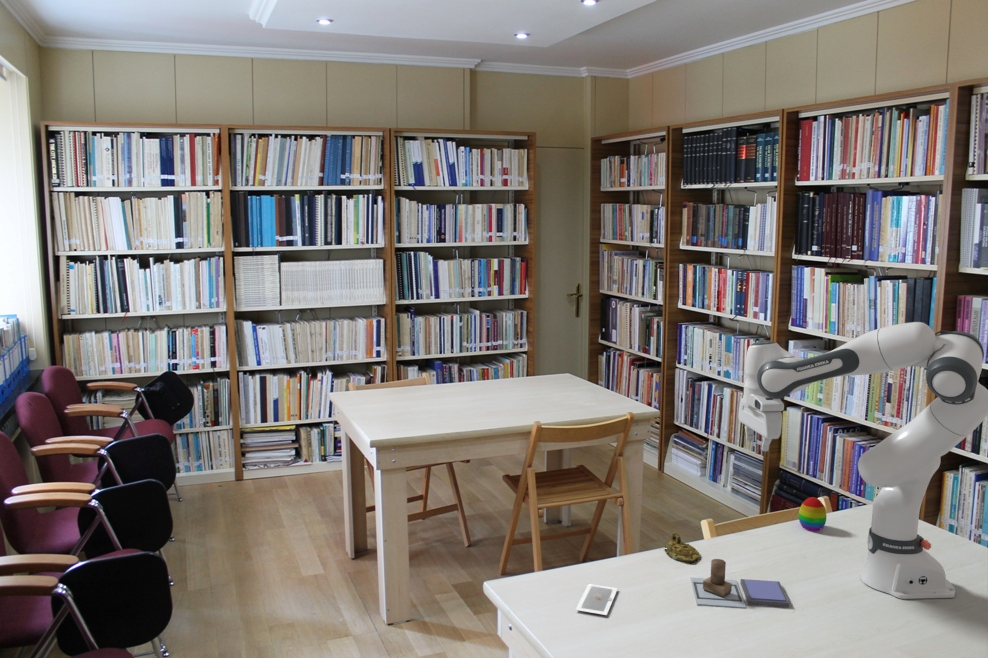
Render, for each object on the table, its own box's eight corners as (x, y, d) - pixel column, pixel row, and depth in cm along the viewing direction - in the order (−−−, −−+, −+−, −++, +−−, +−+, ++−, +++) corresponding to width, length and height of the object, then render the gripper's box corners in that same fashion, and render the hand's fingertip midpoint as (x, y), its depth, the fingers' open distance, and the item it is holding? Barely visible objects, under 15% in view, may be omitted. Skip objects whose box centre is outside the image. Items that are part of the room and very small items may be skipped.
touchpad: (575, 613, 200) (575, 605, 199) (588, 587, 214) (588, 579, 213) (606, 619, 197) (606, 611, 197) (617, 592, 211) (617, 584, 211)
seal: (707, 567, 228) (685, 545, 243) (709, 551, 228) (687, 530, 242) (676, 566, 226) (656, 544, 241) (679, 550, 226) (658, 529, 240)
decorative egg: (823, 534, 249) (825, 504, 247) (795, 529, 253) (797, 499, 251) (827, 526, 256) (829, 496, 254) (800, 521, 260) (802, 491, 258)
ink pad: (779, 585, 214) (779, 580, 214) (789, 607, 203) (789, 601, 202) (740, 583, 216) (740, 578, 215) (748, 604, 204) (748, 599, 204)
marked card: (735, 581, 217) (735, 579, 217) (745, 608, 202) (745, 606, 202) (690, 578, 218) (690, 577, 218) (696, 604, 204) (696, 603, 204)
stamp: (731, 593, 209) (732, 563, 208) (723, 598, 207) (725, 567, 205) (710, 585, 214) (712, 556, 212) (702, 590, 211) (704, 560, 210)
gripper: (734, 390, 236) (731, 435, 238) (764, 406, 216) (761, 456, 218) (754, 389, 236) (752, 435, 238) (787, 406, 216) (784, 456, 218)
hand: (757, 445), depth 228 cm, fingers open, 8 cm apart
